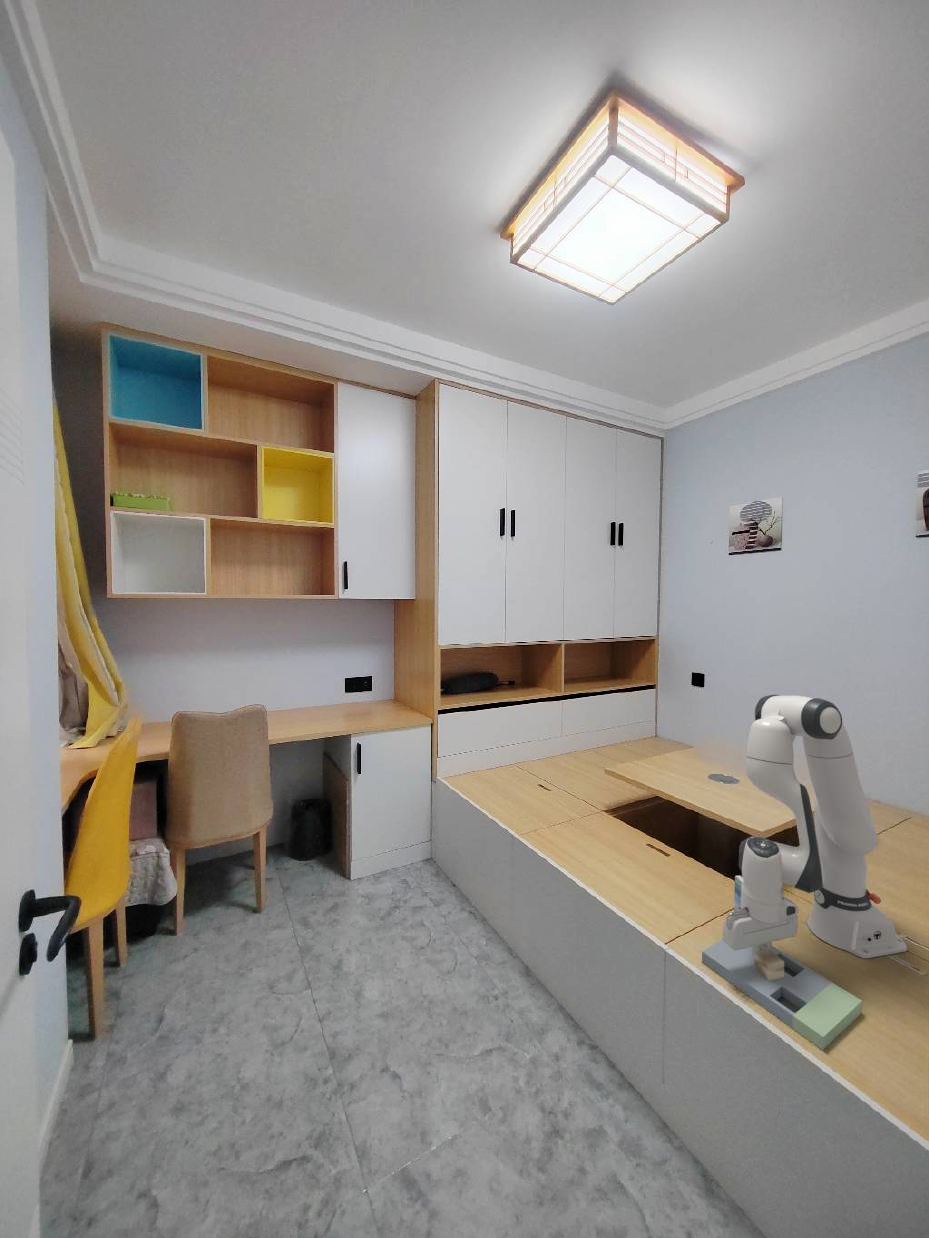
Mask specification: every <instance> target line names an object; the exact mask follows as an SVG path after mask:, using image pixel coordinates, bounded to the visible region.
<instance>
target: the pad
mask: <svg viewBox="0 0 929 1238" xmlns="http://www.w3.org/2000/svg"><path fill="white" fill-rule="evenodd" d="M862 1004H863V1000H862V999H860V998H858V997H857V996H855V995H853V994H852V993H850V992H848V991H847V990H845V989H843V988H842V987H840V986H838V985H837V984H835V983H834V982H832V983H831V984H830V985H829V986H827V987H826V988H825V989H824V990H823V991H821V992H820V993H819V994H818V995H817V996H815V997H814V998H813V999H812V1000H811V1001H809V1002H808V1003H807V1004H806V1005H805V1006H804V1007H802V1008H801V1009H800V1010H799V1011H798V1012H796V1013H795V1014H794V1015H793V1022H792V1028H791V1029H792V1030H794V1031H796V1032H797V1033H798V1034H799V1035H801V1036H802V1037H803V1038H804V1039H806V1040H808V1041H809V1042H810V1043H812V1044H813V1045H815V1046H816V1047H818V1048H819V1049H820V1050H822V1051H824V1050H825V1049H826V1048H827V1047H828V1046H829V1045H830V1044H831V1043H832V1042H833V1041H835V1040H836V1039H837V1037H838V1036H839V1035H841V1034H842V1033H843V1031H844V1030H845V1029H847V1028H848V1027H849V1026H850V1025H851V1024H852V1023H853V1022H854V1021H856V1019H857V1018H858V1017H859V1016H860V1015H862V1012H863V1011H862V1008H863V1005H862Z"/></svg>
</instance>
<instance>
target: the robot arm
mask: <svg viewBox="0 0 929 1238" xmlns="http://www.w3.org/2000/svg"><path fill="white" fill-rule="evenodd" d="M756 703H757V704H756V705H755V708H754V719H755V720H754V721H752V724H751V725H750V728H749V731H748V735H747V741H746V749H745V774H746V776H747V778H748V780H749V782H750V783H752V785H753V786H755V787H756V788H757V789H758V790H760V791H761V792H762V793H763V794H766V795H768V796H769V797H771V798H774V799H775V800H777V801H779V802H780V803H782V804H783V805H785V806H786V808H787V807H788V809H790V811H791V812H792V813H793V815H794V818H795V823H796V828H797V829H796V830H797V835H798V840H799V845H798V846H792V845H789V844H784V843H780V842H778V841H773V840H770V839H769V838H767V837H763V836H749V837H746V838H745V839H744V840H742V841H741V842H740V844H739V847H738V848H739V849H738V867H739V869H740V870H741V875H742V876H743V883H742V886H741V909H738V910H735V909H734V910H733V909H732V910H731V911H730V913H728V914H727V915H726V917H725V919H724V923H723V929H722V930H723V931H722V939H723V940H724V942H725V943H726V944H727V945H728V946H729V947H730V948H732V949H733V950H735V951H736V950H740V949H745V948H749V947H751V949H752V956H753V957H754V958H755V952H759V951H762V950H767V949H769V948H770V946H771V945H772V942H777V941H782V940H785V939H790V938H793V937H795V936H796V934H797V933H798V928H799V926H798V925H799V918H798V912H799V906H798V905H797V904H796V903H795V902H793V901H792V900H791V899H789V898H788V897H786V896H785V895H784V896H783V895H782V894H781V887H782V884H784V885H787V886H790V887H793V888H795V889H796V890H798V891H799V890H800V891H803V892H804V893H808V894H811V893H813V896H814V899H813V903H812V904H813V905H812V909H811V911H810V914H809V917H808V919H807V922H806V923H807V927H808V929H809V931H811V932H812V934H814V935H815V936H816V937H817V938H819V939H820V940H822V941H823V942H825V943H827V944H829V945H831V946H832V947H836V948H838V949H842V950H843V951H844V950H845V951H847V952H849V953H851V954H853V955H855V956H857V957H859V958H862V959H870V958H875V957H876V958H877V957H880V956H888V955H893V954H898V953H904V952H907V951H908V946H907V944H906V942H905V940H903V938H902V937H901V936H900V935H899V934H898V933H897V932H896V928H895V925H894V923H893V921H892V920H891V919H890V917H889V916H888V915H887V914H885V913H884V912H883V911H882V910H880V908H878V906H876V905H879V904H881V902H882V898H881V897H879V895H876V894H875V893H873V892H872V893H871V892H870V891H869V890H868V889H867V885H866V884H867V870H868V867H867V861H866V857H865V856H866V855H868V854H870V853H872V852H873V851H874V850H875V849H876V848H877V846H878V843H879V842H878V841H879V839H878V834H877V831H876V827H875V824H874V820H873V818H872V814H871V810H870V807H869V804H868V802H867V799H866V795H865V793H864V790H863V787H862V783H861V781H860V777H859V773H858V768H857V763H856V760H855V754H854V750H853V747H852V742H851V740H850V736H849V733H848V731H847V729H846V727H845V725H844V722H843V717H842V713H841V712H840V710H839V708H838V707H837V706H836V705H835V703H833V702H831V701H828V700H827V699H823V698H821V697H820V698H819V697H816V698H815V697H808V696H804V695H803V696H802V695H785V694H784V695H780V694H770V695H764V696H763V697H761V698H760V699H759V700H758V702H756ZM797 737H802V743H803V749H804V756H805V759H806V765H807V769H808V773H809V777H810V781H811V784H812V787H813V791H814V794H815V796H814V799H813V809H812V805H811V798H810V795H809V792H808V790H807V787H806V786H805V785H804V784H802V783H801V782H799V780H798V778H797V776H796V774H795V769H794V741H795V739H796V738H797ZM813 811H814V812H813ZM813 813H814V814H813ZM871 901H872V902H873V903H872V902H871ZM874 904H876V905H874Z"/></svg>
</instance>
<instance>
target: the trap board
mask: <svg viewBox="0 0 929 1238" xmlns="http://www.w3.org/2000/svg"><path fill="white" fill-rule="evenodd" d="M769 949H770V950H771V951H772V952H773V953H775V954H776V955H777V956H778V957H779V958H781V959H782V960H783V961H784V977H783V978H779V979H775V980H771V981H769V980H768V979H767V978H766V977H765V976H764V975H762V974H761V973H760V972H759V971H758V970H757V969H756V968H755V958H754V957H753V956H752V949H751V947H749V948H745V949H740V950H736V951H735V950H733V949H732V948H730V947H729V946H728V945H727V944H726V943H725V942H724V940H723V938H722V939H720V940H718V941H717V942H715V943H714V944H712V945H710V946H709V947H707V948H705V949H704V950H702V952H701V963H702V964H703V965H705V966H706V967H707V968H709V969H711V970H712V971H713V972H715V973H716V974H718V976H719V977H721V978H723V979H724V980H725V981H727V982H729V984H731V985H733V987H735V988H737V989H738V990H740V992H742V993H743V994H745V995H746V996H747V995H748V996H747V997H749V998H750V997H751V998H750V999H752V1000H753V1001H754V1002H755V1003H757V1004H758V1005H759V1006H761V1007H762V1008H765V1009H766V1010H767V1011H768V1012H770V1014H772V1015H773V1016H775V1017H776V1018H778V1019H779V1020H781V1022H783V1023H785V1024H786V1025H787V1026H789V1028H791V1029H793V1028H792V1022H793V1015H794V1014H795V1013H796V1012H798V1011H799V1010H800V1009H801V1008H802V1007H804V1006H805V1005H806V1004H807V1003H808V1002H809V1001H811V1000H812V999H813V998H814V997H815V996H817V995H818V994H819V993H820V992H821V991H823V990H824V989H825V988H826V987H827V986H829V985H830V984H831V983H833V981H830V980H829V979H828V978H825V977H824V976H823V975H821V974H819V973H818V972H815V971H814V970H813V969H811V968H809V967H807V966H806V965H805V964H803V963H801V962H799V961H798V960H796V959H795V958H793V957H791V956H790V955H788V954H786V953H785V952H783V951H781V950H780V949H778V948H777V947H775V946H773V945H772V944H771V946H770V948H769Z"/></svg>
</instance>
